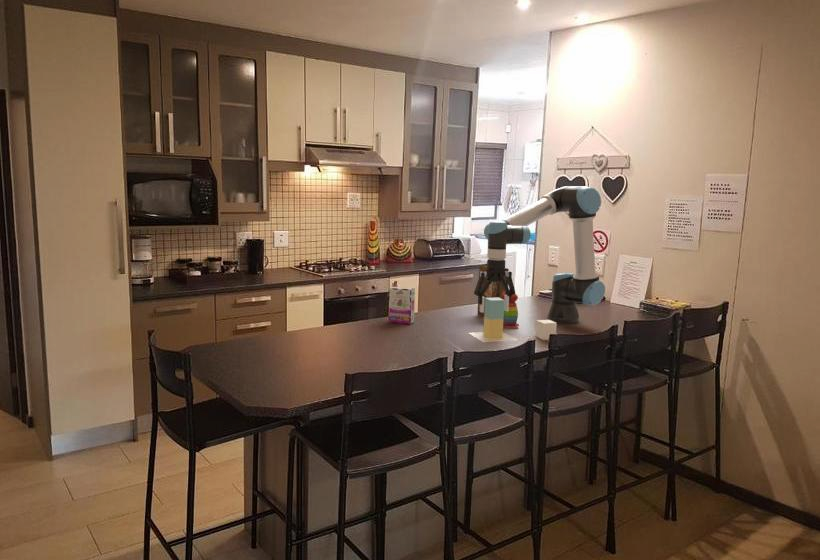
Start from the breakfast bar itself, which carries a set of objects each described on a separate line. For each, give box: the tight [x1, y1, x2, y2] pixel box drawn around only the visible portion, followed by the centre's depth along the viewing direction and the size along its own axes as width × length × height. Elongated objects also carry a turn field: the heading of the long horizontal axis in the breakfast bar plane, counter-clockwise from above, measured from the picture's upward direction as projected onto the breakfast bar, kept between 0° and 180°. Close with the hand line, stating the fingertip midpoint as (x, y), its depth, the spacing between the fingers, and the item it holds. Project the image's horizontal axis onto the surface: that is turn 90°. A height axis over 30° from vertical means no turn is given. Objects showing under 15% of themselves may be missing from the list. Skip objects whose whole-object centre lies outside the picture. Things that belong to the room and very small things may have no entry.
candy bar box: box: [388, 286, 416, 325], centre depth 280 cm, size 11×5×16 cm, turn 68°
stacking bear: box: [501, 291, 520, 330], centre depth 273 cm, size 11×10×18 cm
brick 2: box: [535, 319, 558, 341], centre depth 254 cm, size 6×6×8 cm
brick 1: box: [483, 297, 504, 320], centre depth 253 cm, size 6×6×8 cm
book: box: [476, 264, 510, 318], centre depth 294 cm, size 16×6×25 cm, turn 34°
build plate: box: [468, 331, 519, 343], centre depth 255 cm, size 16×16×1 cm
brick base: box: [483, 317, 504, 339], centre depth 254 cm, size 6×6×8 cm
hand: (494, 311), depth 253 cm, fingers open, 10 cm apart
